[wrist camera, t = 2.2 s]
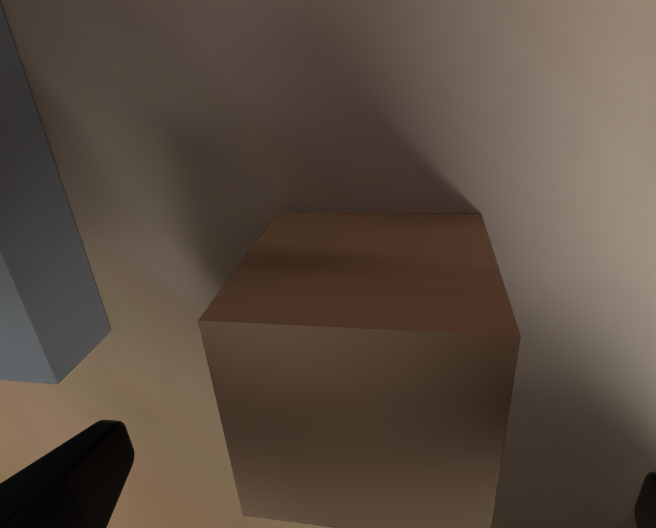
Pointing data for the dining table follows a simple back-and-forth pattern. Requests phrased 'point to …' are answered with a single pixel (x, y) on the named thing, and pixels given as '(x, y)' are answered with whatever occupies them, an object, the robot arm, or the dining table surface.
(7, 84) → the slate plinth
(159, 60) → the dining table surface
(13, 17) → the dining table surface
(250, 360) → the walnut cube
